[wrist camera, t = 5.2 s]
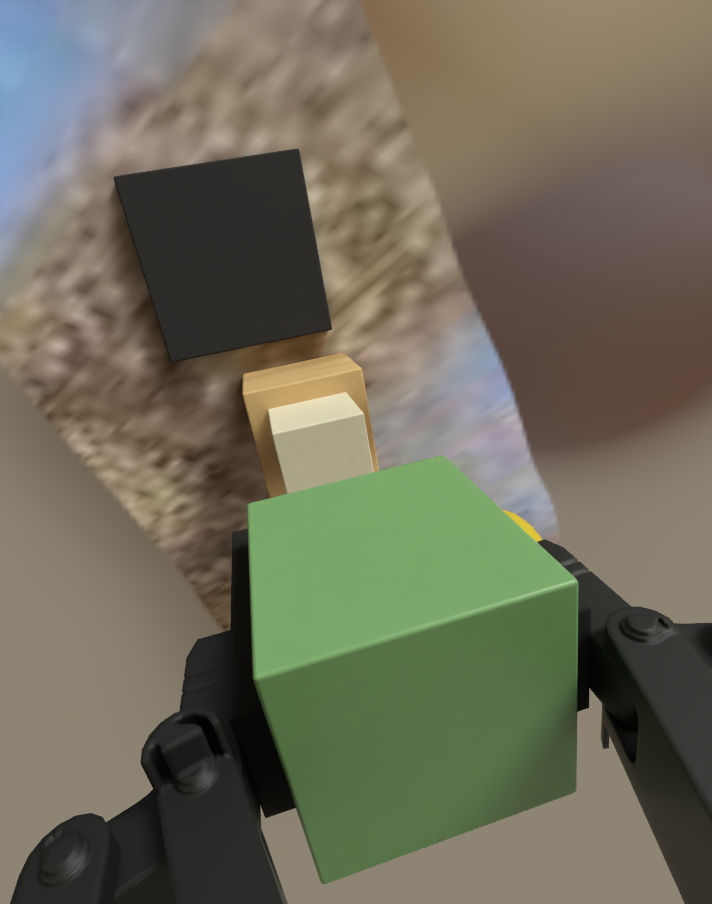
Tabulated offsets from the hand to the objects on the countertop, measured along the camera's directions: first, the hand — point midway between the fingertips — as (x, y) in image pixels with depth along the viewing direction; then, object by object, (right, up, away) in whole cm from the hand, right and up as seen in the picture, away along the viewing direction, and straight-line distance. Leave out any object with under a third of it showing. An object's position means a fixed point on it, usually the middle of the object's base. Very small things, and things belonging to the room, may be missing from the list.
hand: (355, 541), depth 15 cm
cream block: (-2, +4, +10) cm, 11 cm away
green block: (0, 0, -1) cm, 1 cm away
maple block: (-3, +5, +14) cm, 16 cm away
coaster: (-6, +13, +11) cm, 18 cm away
